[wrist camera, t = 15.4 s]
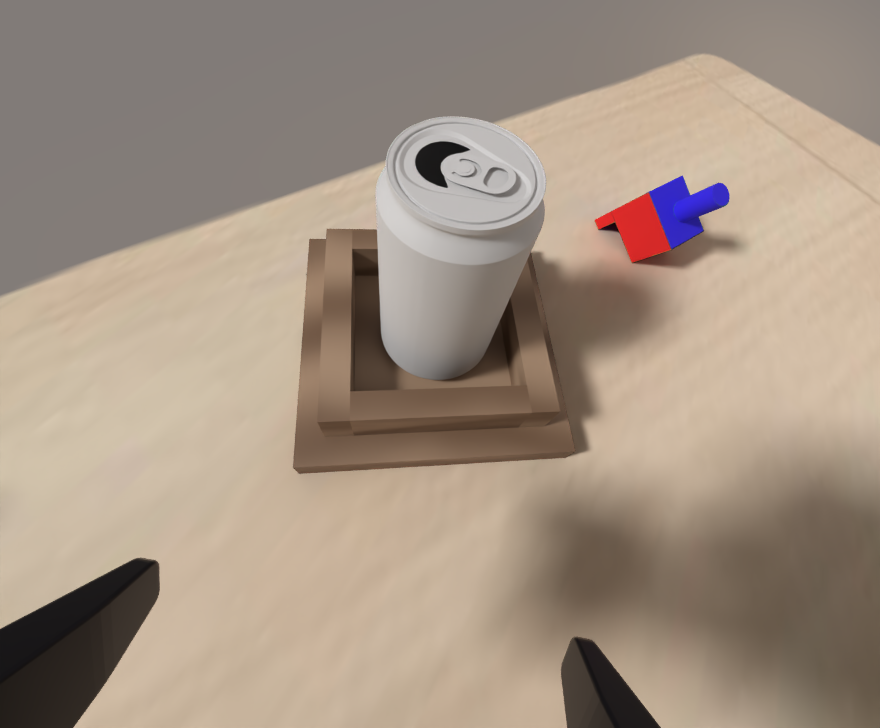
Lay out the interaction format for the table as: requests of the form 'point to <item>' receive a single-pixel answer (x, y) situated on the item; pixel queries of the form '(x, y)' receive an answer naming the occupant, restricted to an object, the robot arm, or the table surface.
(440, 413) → the socket block
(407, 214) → the beverage can
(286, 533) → the table surface
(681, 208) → the toy building block
